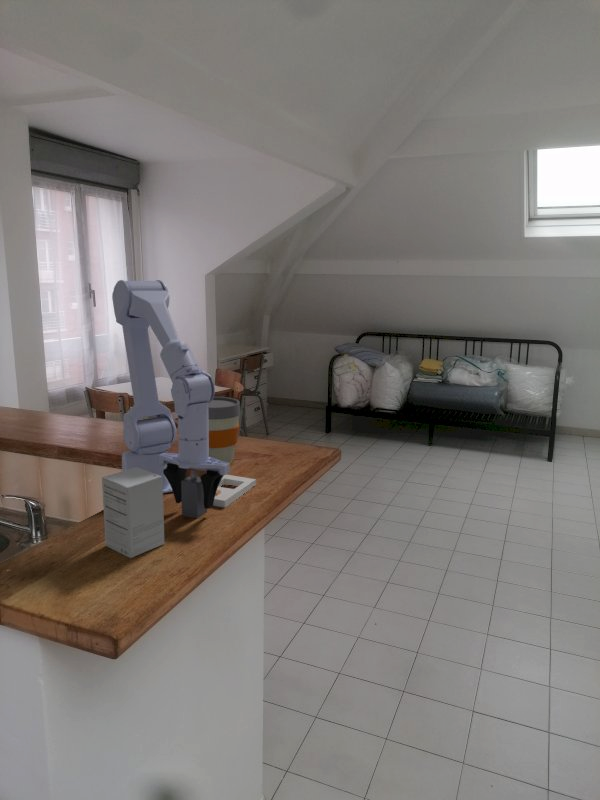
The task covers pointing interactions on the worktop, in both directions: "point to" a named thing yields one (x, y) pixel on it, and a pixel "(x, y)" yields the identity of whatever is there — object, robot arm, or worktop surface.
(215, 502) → the white board with cutouts
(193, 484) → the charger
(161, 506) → the supplement box
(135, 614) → the worktop surface
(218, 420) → the reusable coffee cup
